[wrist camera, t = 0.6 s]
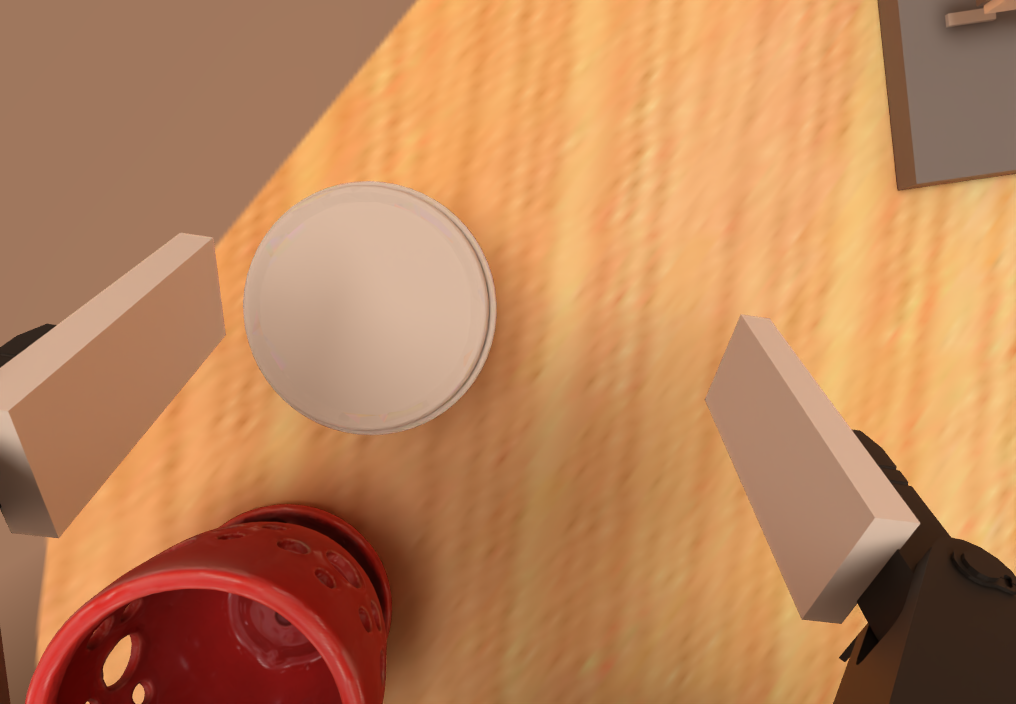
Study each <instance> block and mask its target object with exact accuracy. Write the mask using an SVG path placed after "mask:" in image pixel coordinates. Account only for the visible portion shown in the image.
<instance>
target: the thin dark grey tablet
mask: <svg viewBox="0 0 1016 704" xmlns="http://www.w3.org/2000/svg"><path fill="white" fill-rule="evenodd" d="M878 5H879V14H880V24H881V34H882V43H883V53H884V62H885V72H886V81H887V91H888V101H889V110H890V120H891V129H892V139H893V149H894V158H895V168H896V177H897V187H898V190H905V189H912V188H919V187H926V186H933V185H939V184H946V183H953V182H960V181H967V180H974V179H981V178H988V177H995V176H1002V175H1009V174H1016V10H1009V11H1002V12H996V13H989V14H984V6H980V7H976V0H878Z"/></svg>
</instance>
